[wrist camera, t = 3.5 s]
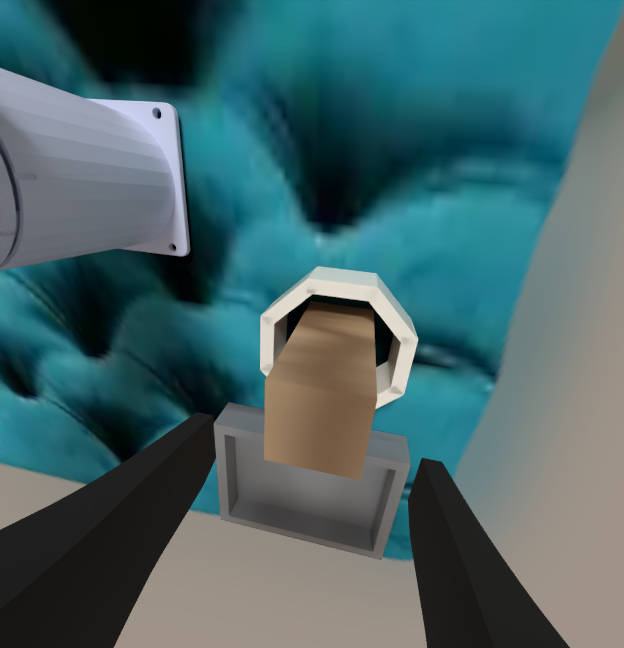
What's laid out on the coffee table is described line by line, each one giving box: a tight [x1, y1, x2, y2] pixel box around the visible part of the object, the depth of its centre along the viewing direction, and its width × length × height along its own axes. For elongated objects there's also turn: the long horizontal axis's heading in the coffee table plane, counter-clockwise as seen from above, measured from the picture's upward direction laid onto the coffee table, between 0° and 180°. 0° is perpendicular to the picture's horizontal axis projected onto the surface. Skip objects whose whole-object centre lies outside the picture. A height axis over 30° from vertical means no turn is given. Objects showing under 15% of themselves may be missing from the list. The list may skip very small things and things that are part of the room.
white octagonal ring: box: [260, 266, 418, 409], centre depth 18 cm, size 9×9×3 cm
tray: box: [214, 402, 411, 560], centre depth 23 cm, size 14×11×2 cm
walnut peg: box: [264, 301, 377, 480], centre depth 15 cm, size 4×4×9 cm
